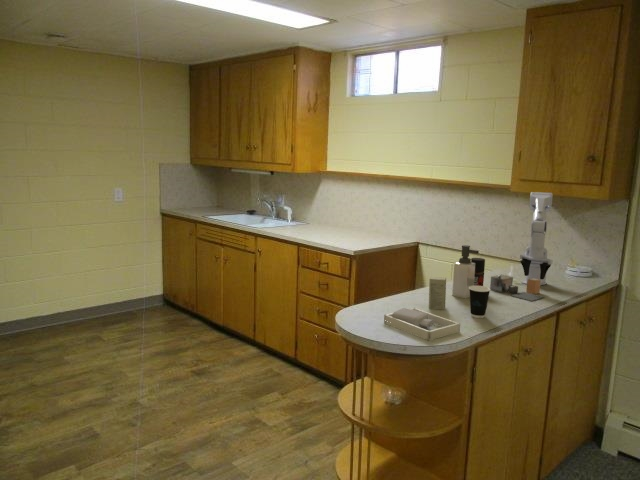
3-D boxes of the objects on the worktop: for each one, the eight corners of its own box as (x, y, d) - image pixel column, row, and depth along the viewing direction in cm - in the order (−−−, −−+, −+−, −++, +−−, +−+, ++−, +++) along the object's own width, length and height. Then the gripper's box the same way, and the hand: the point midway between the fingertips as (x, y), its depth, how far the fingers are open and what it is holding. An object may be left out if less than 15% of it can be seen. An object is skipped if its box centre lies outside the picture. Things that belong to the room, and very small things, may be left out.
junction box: (500, 286, 244) (501, 272, 243) (513, 289, 238) (514, 275, 237) (488, 289, 239) (489, 275, 238) (501, 292, 233) (502, 278, 232)
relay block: (531, 291, 237) (532, 277, 236) (539, 293, 234) (540, 279, 233) (526, 292, 235) (527, 279, 234) (534, 294, 232) (535, 280, 231)
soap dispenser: (470, 299, 221) (474, 248, 218) (452, 295, 227) (455, 245, 224) (478, 296, 226) (481, 246, 222) (459, 292, 232) (462, 244, 228)
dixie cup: (471, 319, 195) (473, 291, 193) (463, 313, 202) (465, 285, 201) (491, 319, 195) (494, 290, 194) (483, 312, 203) (485, 285, 201)
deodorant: (481, 290, 237) (483, 257, 234) (483, 293, 231) (486, 260, 228) (467, 289, 237) (470, 257, 235) (470, 293, 231) (472, 260, 229)
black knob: (511, 291, 236) (512, 284, 236) (519, 293, 233) (520, 286, 233) (506, 292, 234) (506, 285, 234) (514, 294, 231) (514, 287, 230)
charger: (429, 335, 178) (391, 325, 187) (441, 328, 185) (404, 319, 194) (430, 321, 177) (392, 312, 186) (442, 315, 184) (405, 307, 193)
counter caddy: (414, 315, 198) (414, 307, 198) (459, 331, 181) (460, 323, 180) (383, 322, 189) (384, 314, 188) (429, 340, 172) (429, 332, 171)
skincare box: (445, 307, 210) (447, 277, 208) (444, 310, 206) (446, 280, 204) (429, 305, 212) (430, 276, 210) (427, 308, 208) (429, 278, 206)
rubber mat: (523, 292, 234) (523, 291, 234) (544, 298, 226) (544, 297, 226) (510, 296, 228) (510, 295, 228) (531, 301, 220) (531, 300, 220)
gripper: (517, 245, 234) (514, 275, 237) (547, 250, 223) (544, 281, 225) (526, 244, 239) (523, 273, 241) (556, 249, 227) (553, 279, 229)
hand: (534, 277), depth 233 cm, fingers open, 7 cm apart
